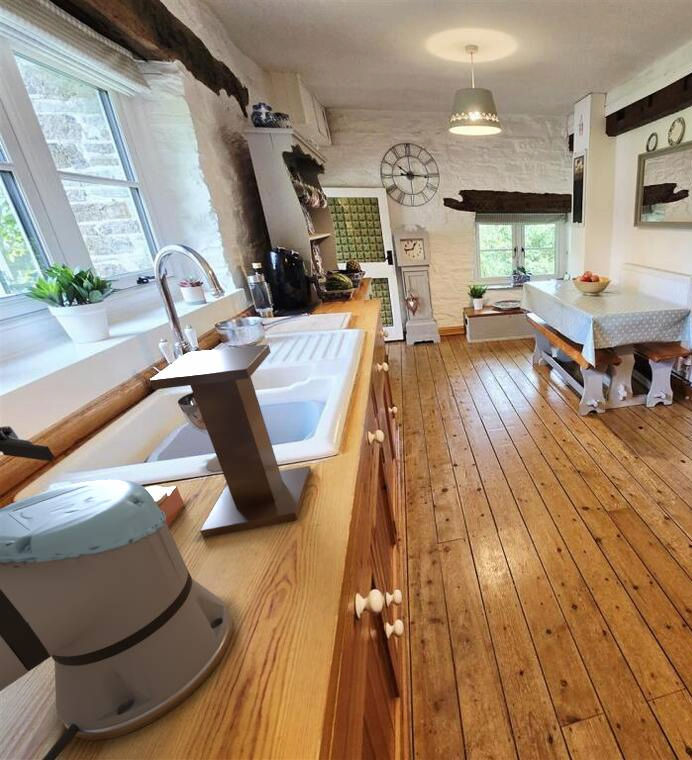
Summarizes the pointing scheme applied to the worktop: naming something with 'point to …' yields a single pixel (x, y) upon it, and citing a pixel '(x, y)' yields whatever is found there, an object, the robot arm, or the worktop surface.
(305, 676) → the worktop surface
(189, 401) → the wine glass
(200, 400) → the stand
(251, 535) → the worktop surface
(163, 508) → the reddish brown long piece
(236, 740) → the worktop surface
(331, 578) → the worktop surface
